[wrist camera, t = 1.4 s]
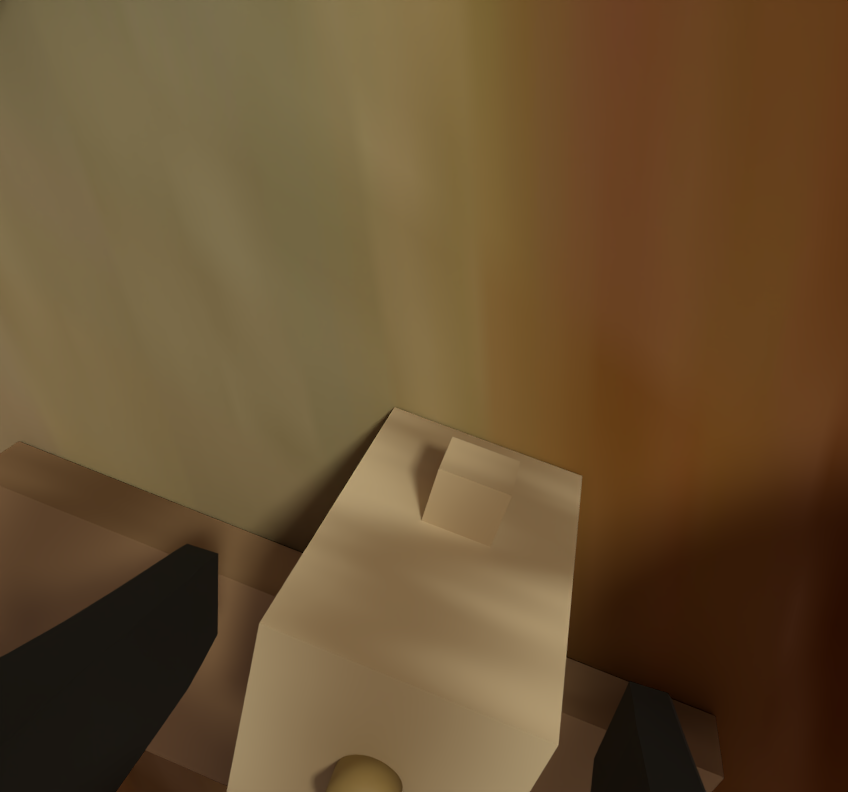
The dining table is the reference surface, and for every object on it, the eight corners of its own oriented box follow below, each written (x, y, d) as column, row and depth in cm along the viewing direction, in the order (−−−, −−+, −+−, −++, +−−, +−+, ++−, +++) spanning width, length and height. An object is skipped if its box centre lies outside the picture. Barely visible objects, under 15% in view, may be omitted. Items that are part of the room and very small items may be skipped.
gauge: (603, 431, 13) (590, 736, 7) (450, 752, 18) (373, 1069, 13) (407, 360, 13) (246, 597, 8) (314, 695, 19) (180, 979, 13)
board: (715, 716, 15) (724, 777, 14) (585, 881, 19) (582, 940, 18) (19, 441, 17) (-31, 473, 16) (31, 645, 21) (-7, 684, 20)
